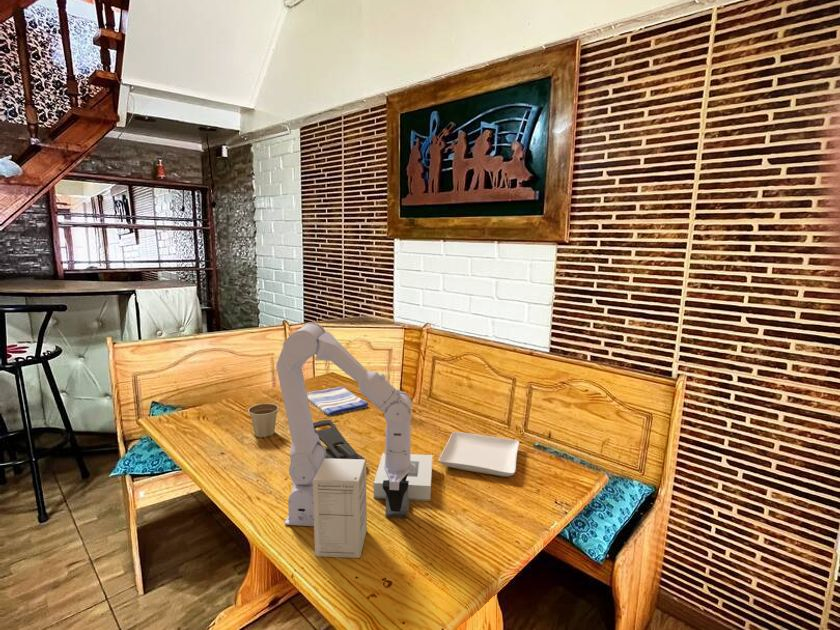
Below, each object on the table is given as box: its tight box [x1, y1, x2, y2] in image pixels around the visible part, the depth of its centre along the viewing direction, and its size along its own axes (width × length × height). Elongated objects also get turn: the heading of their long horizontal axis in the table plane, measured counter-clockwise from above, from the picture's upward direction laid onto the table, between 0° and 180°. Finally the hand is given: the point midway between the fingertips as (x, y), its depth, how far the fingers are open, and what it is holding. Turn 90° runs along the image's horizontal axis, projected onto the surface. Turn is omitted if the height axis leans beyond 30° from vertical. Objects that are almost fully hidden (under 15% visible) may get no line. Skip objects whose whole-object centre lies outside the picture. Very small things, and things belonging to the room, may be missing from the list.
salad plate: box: [438, 431, 520, 477], centre depth 132 cm, size 21×21×3 cm
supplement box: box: [313, 458, 368, 559], centre depth 93 cm, size 10×9×17 cm
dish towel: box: [307, 385, 369, 417], centre depth 175 cm, size 17×24×3 cm
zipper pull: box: [313, 419, 366, 460], centre depth 131 cm, size 9×7×25 cm
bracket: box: [385, 480, 410, 520], centre depth 105 cm, size 6×5×8 cm
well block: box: [373, 452, 433, 502], centre depth 118 cm, size 16×14×4 cm
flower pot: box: [247, 402, 280, 438], centre depth 145 cm, size 9×9×9 cm
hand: (397, 502), depth 104 cm, fingers open, 6 cm apart
